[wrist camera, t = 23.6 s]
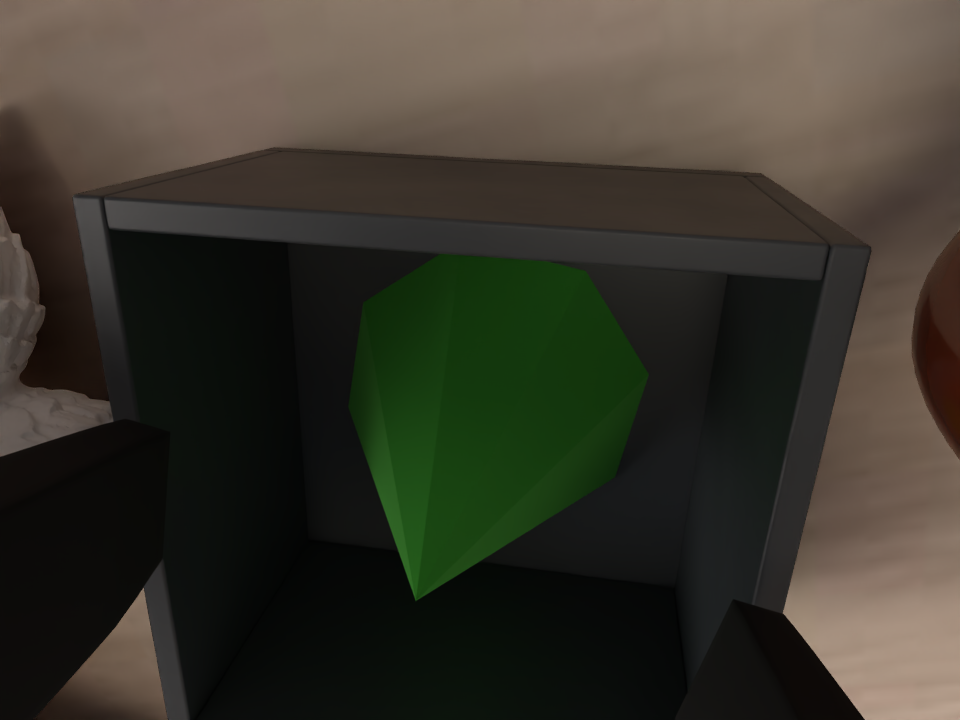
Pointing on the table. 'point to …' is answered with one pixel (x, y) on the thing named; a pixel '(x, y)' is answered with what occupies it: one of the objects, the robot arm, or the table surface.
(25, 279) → the angel figurine
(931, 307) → the mug
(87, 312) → the table surface
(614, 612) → the bin
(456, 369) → the gemstone
